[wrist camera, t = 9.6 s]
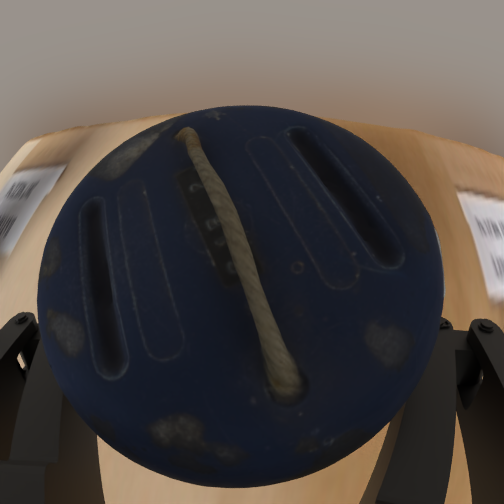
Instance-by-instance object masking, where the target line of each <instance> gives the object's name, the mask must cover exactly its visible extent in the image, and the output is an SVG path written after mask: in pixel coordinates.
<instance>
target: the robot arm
mask: <svg viewBox="0 0 504 504" xmlns="http://www.w3.org/2000/svg"><path fill="white" fill-rule="evenodd" d="M19 353H20V355H21V357H22V360H23V362H24V364H25V367H24V368H23V369H22V368H21V366H20V364H19V362H18V360H17V357H18V355H19ZM482 377H483V380H482ZM456 412H457V416H458V420H459V424H460V429H461V433H462V438H463V443H464V448H465V453H466V459H467V465H468V471H469V478H470V486H471V495H472V504H504V333H503V332H502V330H501V329H500V327H499V326H498V325H497V324H495V323H493V322H492V321H491V320H488V319H475V320H473V321H472V322H471V324H470V328H469V331H460V330H453V326H452V324H451V323H450V322H449V321H448V320H447V319H445V318H443V317H441V320H440V328H439V333H438V337H437V340H436V343H435V346H434V349H433V352H432V355H431V357H430V360H429V363H428V365H427V367H426V369H425V371H424V373H423V375H422V377H421V379H420V381H419V383H418V384H417V386H416V388H415V389H414V391H413V392H412V394H411V395H410V397H409V398H408V400H407V401H406V403H405V404H404V405H403V407H402V408H401V409H400V410H399V411H398V413H397V414H396V415H395V416H394V418H393V419H392V420H391V421H390V424H389V427H388V430H387V434H386V437H385V440H384V443H383V446H382V449H381V451H380V454H379V457H378V460H377V462H376V465H375V468H374V470H373V473H372V475H371V478H370V480H369V483H368V485H367V487H366V490H365V492H364V494H363V496H362V499H361V501H360V503H359V504H444V502H445V498H446V493H447V488H448V482H449V477H450V470H451V464H452V456H453V447H454V436H455V422H456ZM0 504H105V501H104V495H103V488H102V482H101V474H100V466H99V456H98V445H97V434H96V433H95V432H94V431H93V430H92V429H90V427H89V426H88V425H87V424H86V423H85V422H84V421H83V420H82V418H81V417H80V416H79V415H78V414H77V412H76V411H75V410H74V408H73V407H72V405H71V404H70V402H69V401H68V399H67V398H66V396H65V395H64V393H63V392H62V390H61V388H60V387H59V385H58V383H57V381H56V379H55V377H54V374H53V372H52V370H51V368H50V366H49V363H48V360H47V357H46V354H45V351H44V347H43V343H42V338H41V333H40V328H39V323H38V324H37V322H36V319H35V316H34V314H33V313H30V312H25V313H24V312H21V313H18V314H17V315H16V316H14V317H12V318H11V319H10V320H9V321H8V322H7V323H6V324H5V325H4V326H3V327H2V329H1V330H0Z"/></svg>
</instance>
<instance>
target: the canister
mask: <svg viewBox="0 0 504 504" xmlns="http://www.w3.org/2000/svg"><path fill="white" fill-rule="evenodd" d="M443 301H444V274H443V265H442V258H441V253H440V248H439V244H438V240H437V236H436V232H435V229H434V225H433V223H432V220H431V217H430V215H429V213H428V212H427V210H426V208H425V207H424V205H423V203H422V202H421V200H420V199H419V197H418V195H417V194H416V193H415V191H414V190H413V188H412V187H411V186H410V184H409V183H408V182H407V180H406V179H405V178H404V177H403V176H402V175H401V173H400V172H399V171H398V170H397V169H396V168H395V167H394V166H393V165H392V164H391V163H390V162H389V161H388V160H387V159H386V158H385V157H384V156H383V155H382V154H380V153H379V152H378V151H377V150H376V149H375V148H373V147H372V146H371V145H369V144H368V143H367V142H365V141H364V140H363V139H361V138H359V137H358V136H356V135H354V134H353V133H351V132H349V131H348V130H346V129H343V128H341V127H339V126H337V125H335V124H333V123H330V122H328V121H325V120H323V119H320V118H317V117H314V116H311V115H308V114H305V113H301V112H297V111H294V110H289V109H283V108H277V107H269V106H226V107H217V108H211V109H205V110H200V111H195V112H191V113H188V114H184V115H181V116H177V117H174V118H171V119H169V120H166V121H164V122H161V123H159V124H157V125H154V126H152V127H150V128H148V129H146V130H144V131H142V132H140V133H138V134H137V135H135V136H133V137H132V138H130V139H128V140H127V141H125V142H124V143H122V144H121V145H120V146H118V147H117V148H115V149H114V150H113V151H112V152H110V153H109V154H108V155H107V156H105V157H104V158H103V159H102V160H101V161H100V162H99V163H98V164H97V165H96V166H95V167H94V168H93V169H92V170H91V171H90V172H89V173H88V174H87V175H86V176H85V177H84V178H83V180H82V181H81V182H80V183H79V184H78V185H77V187H76V188H75V189H74V191H73V192H72V193H71V195H70V196H69V198H68V199H67V201H66V202H65V204H64V206H63V207H62V209H61V211H60V213H59V215H58V216H57V218H56V220H55V223H54V225H53V227H52V229H51V232H50V234H49V237H48V239H47V242H46V245H45V248H44V252H43V257H42V262H41V267H40V272H39V280H38V294H37V310H38V322H39V328H40V333H41V338H42V343H43V347H44V351H45V354H46V357H47V360H48V363H49V366H50V368H51V370H52V372H53V374H54V377H55V379H56V381H57V383H58V385H59V387H60V388H61V390H62V392H63V393H64V395H65V396H66V398H67V399H68V401H69V402H70V404H71V405H72V407H73V408H74V410H75V411H76V412H77V414H78V415H79V416H80V417H81V418H82V420H83V421H84V422H85V423H86V424H87V425H88V426H89V427H90V429H92V430H93V431H94V432H95V433H96V434H97V435H98V436H99V437H100V438H101V439H102V440H104V441H105V442H106V443H107V444H108V445H110V446H111V447H112V448H113V449H115V450H116V451H118V452H119V453H121V454H122V455H124V456H125V457H127V458H128V459H130V460H132V461H133V462H135V463H137V464H139V465H141V466H143V467H145V468H147V469H149V470H152V471H154V472H156V473H159V474H161V475H164V476H167V477H169V478H172V479H176V480H179V481H183V482H187V483H191V484H195V485H200V486H207V487H220V488H250V487H260V486H267V485H272V484H277V483H282V482H286V481H290V480H294V479H298V478H301V477H304V476H307V475H309V474H312V473H315V472H317V471H319V470H322V469H324V468H326V467H328V466H330V465H332V464H334V463H336V462H337V461H339V460H341V459H343V458H344V457H346V456H348V455H349V454H351V453H352V452H354V451H355V450H357V449H358V448H360V447H361V446H362V445H364V444H365V443H366V442H368V441H369V440H370V439H372V438H373V437H374V436H375V435H376V434H377V433H378V432H379V431H380V430H381V429H382V428H383V427H384V426H385V425H386V424H387V423H389V422H390V421H391V420H392V419H393V418H394V416H395V415H396V414H397V413H398V411H399V410H400V409H401V408H402V407H403V405H404V404H405V403H406V401H407V400H408V398H409V397H410V395H411V394H412V392H413V391H414V389H415V388H416V386H417V384H418V383H419V381H420V379H421V377H422V375H423V373H424V371H425V369H426V367H427V365H428V363H429V360H430V357H431V355H432V352H433V349H434V346H435V343H436V340H437V337H438V333H439V328H440V320H441V315H442V310H443Z"/></svg>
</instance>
